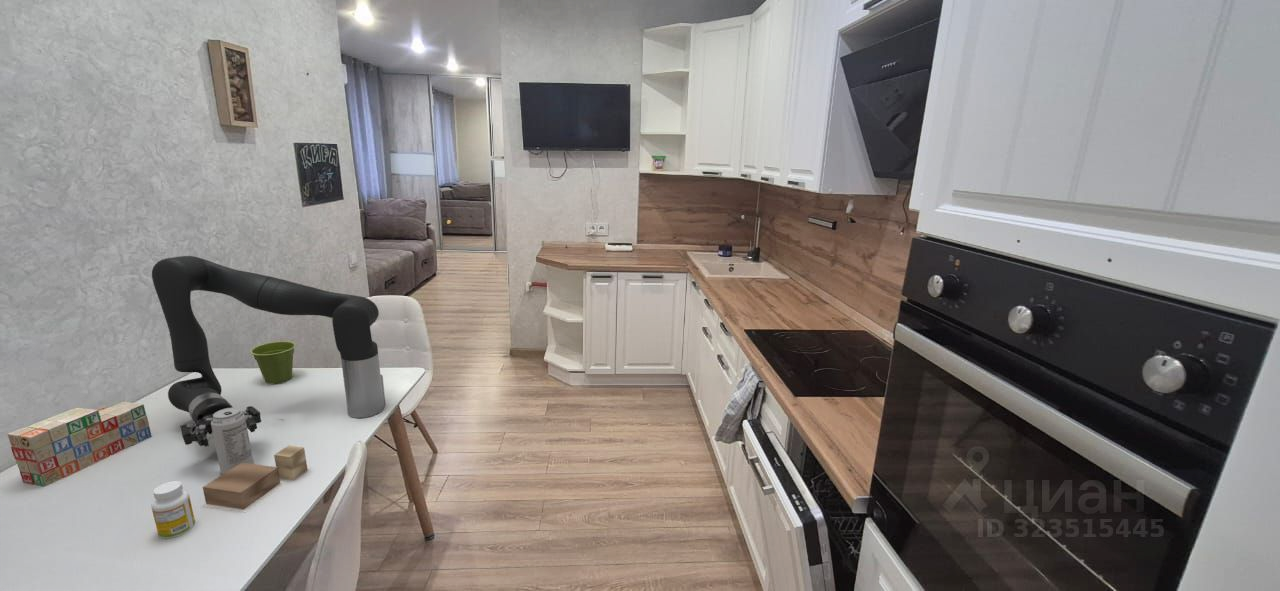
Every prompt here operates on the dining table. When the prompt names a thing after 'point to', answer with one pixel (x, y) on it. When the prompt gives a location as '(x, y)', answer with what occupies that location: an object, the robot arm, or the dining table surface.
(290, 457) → the oak post
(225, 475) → the base block
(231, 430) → the energy drink can
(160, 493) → the supplement bottle
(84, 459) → the stack of blocks
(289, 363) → the plant pot
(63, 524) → the dining table surface
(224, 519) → the dining table surface
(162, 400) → the dining table surface
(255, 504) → the blueprint board
